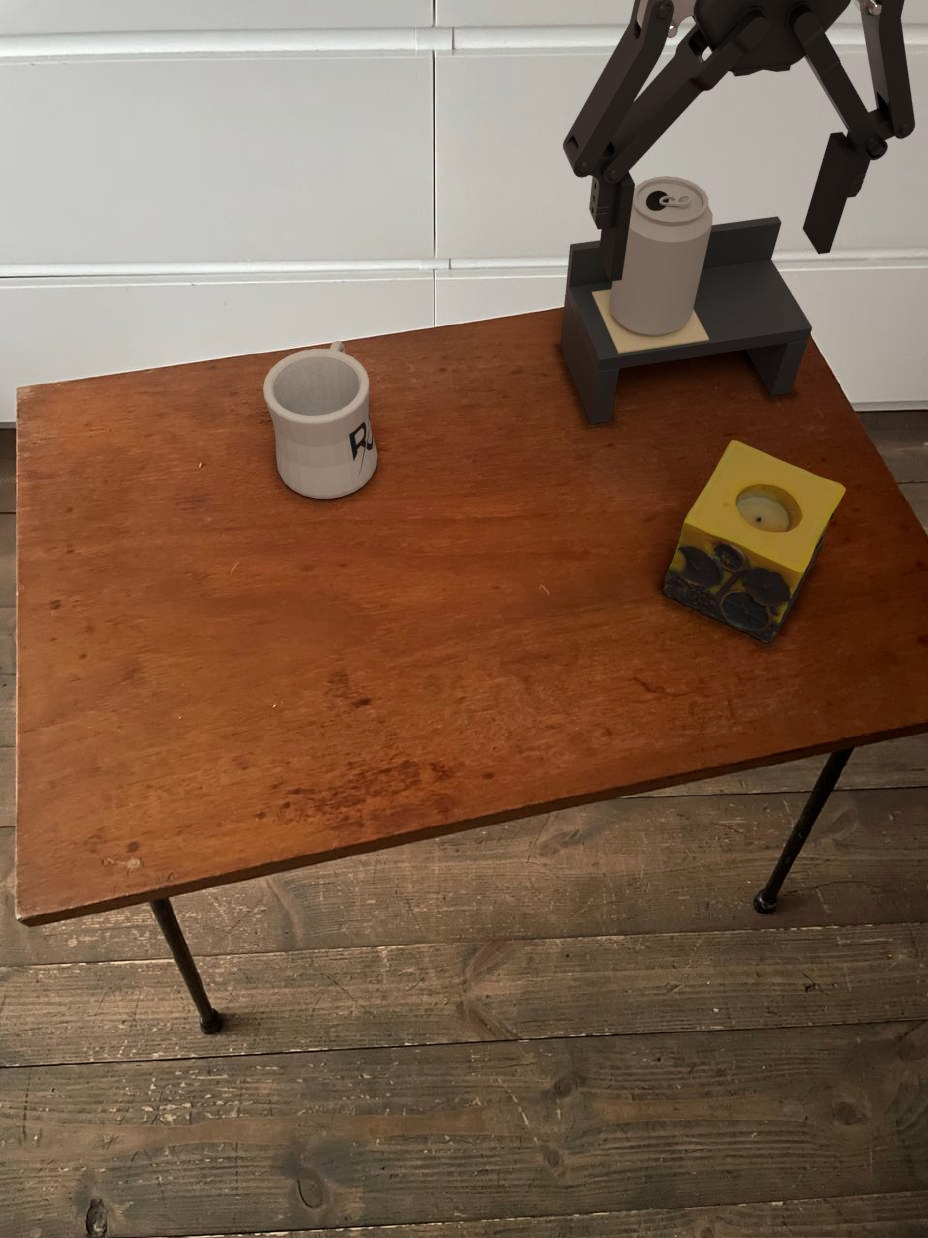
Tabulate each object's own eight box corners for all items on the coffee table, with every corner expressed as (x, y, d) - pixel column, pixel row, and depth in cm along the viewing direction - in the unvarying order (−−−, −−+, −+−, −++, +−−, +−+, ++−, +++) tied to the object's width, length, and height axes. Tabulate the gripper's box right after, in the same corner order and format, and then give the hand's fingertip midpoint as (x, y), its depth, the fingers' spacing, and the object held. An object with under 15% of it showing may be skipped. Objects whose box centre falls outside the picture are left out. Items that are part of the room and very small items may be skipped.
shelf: (749, 319, 108) (777, 215, 98) (790, 393, 102) (825, 290, 92) (559, 347, 106) (570, 243, 96) (590, 424, 100) (604, 322, 90)
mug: (365, 510, 94) (356, 429, 85) (266, 496, 95) (247, 414, 86) (395, 412, 101) (389, 328, 92) (302, 400, 101) (288, 316, 93)
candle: (706, 515, 93) (730, 434, 85) (816, 562, 90) (851, 483, 82) (657, 595, 88) (677, 518, 80) (771, 648, 85) (804, 573, 77)
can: (618, 280, 99) (635, 162, 89) (697, 297, 98) (724, 178, 88) (599, 332, 95) (615, 213, 85) (682, 349, 93) (708, 231, 84)
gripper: (1007, -187, 53) (875, 196, 70) (521, -145, 50) (508, 242, 68) (1086, -126, 49) (924, 265, 66) (560, -77, 46) (535, 317, 63)
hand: (713, 254), depth 67 cm, fingers open, 13 cm apart
